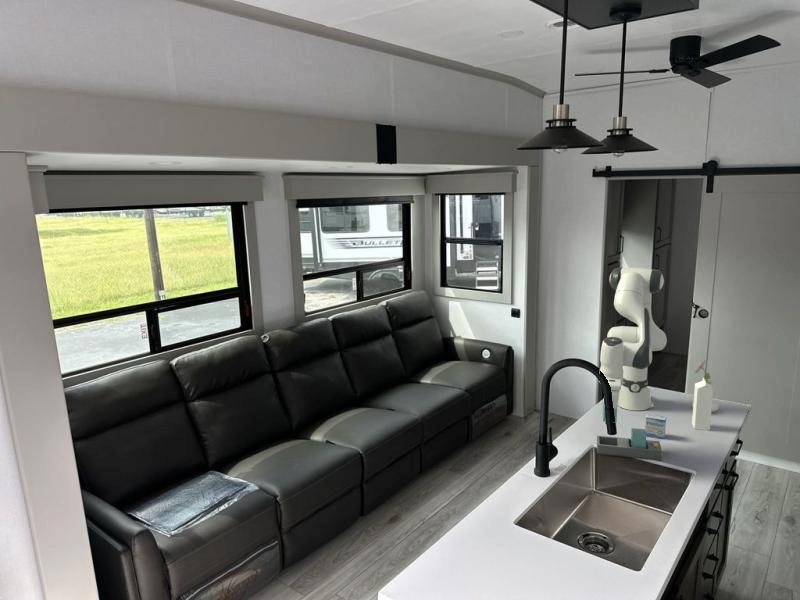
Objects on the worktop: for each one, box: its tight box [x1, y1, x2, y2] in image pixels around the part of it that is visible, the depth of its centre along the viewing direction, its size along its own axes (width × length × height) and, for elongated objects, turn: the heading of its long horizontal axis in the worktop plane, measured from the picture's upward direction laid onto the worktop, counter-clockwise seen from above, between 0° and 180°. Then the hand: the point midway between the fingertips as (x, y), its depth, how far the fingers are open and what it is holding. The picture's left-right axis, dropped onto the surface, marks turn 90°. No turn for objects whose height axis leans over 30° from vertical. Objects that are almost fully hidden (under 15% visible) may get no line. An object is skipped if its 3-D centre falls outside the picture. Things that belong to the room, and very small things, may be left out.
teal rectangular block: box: [602, 397, 618, 423], centre depth 224 cm, size 5×5×8 cm
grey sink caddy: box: [596, 427, 663, 461], centre depth 225 cm, size 9×24×10 cm, turn 73°
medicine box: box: [644, 413, 667, 440], centre depth 238 cm, size 8×4×9 cm, turn 62°
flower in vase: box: [691, 359, 720, 413], centre depth 260 cm, size 13×11×25 cm
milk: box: [691, 377, 714, 431], centre depth 243 cm, size 6×6×22 cm
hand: (609, 410), depth 224 cm, fingers closed on teal rectangular block, 5 cm apart
